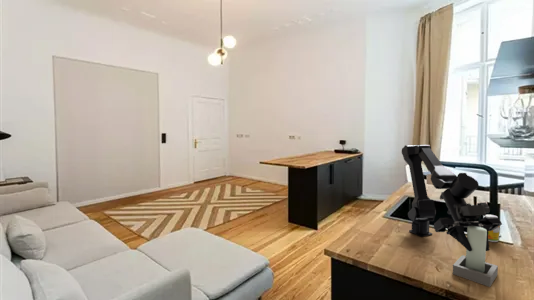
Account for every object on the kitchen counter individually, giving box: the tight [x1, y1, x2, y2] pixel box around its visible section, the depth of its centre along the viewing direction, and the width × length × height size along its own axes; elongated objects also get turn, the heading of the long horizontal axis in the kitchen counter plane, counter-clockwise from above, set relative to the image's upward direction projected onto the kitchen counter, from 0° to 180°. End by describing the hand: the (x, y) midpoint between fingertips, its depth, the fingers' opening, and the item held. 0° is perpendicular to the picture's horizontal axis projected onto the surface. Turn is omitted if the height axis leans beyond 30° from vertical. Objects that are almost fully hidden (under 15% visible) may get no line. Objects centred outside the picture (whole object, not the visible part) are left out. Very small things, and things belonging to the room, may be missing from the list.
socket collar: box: [452, 254, 499, 288], centre depth 86 cm, size 9×9×3 cm
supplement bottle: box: [484, 214, 501, 243], centre depth 109 cm, size 5×5×10 cm
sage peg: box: [465, 226, 487, 273], centre depth 85 cm, size 5×5×13 cm
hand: (479, 250), depth 84 cm, fingers closed on sage peg, 5 cm apart
